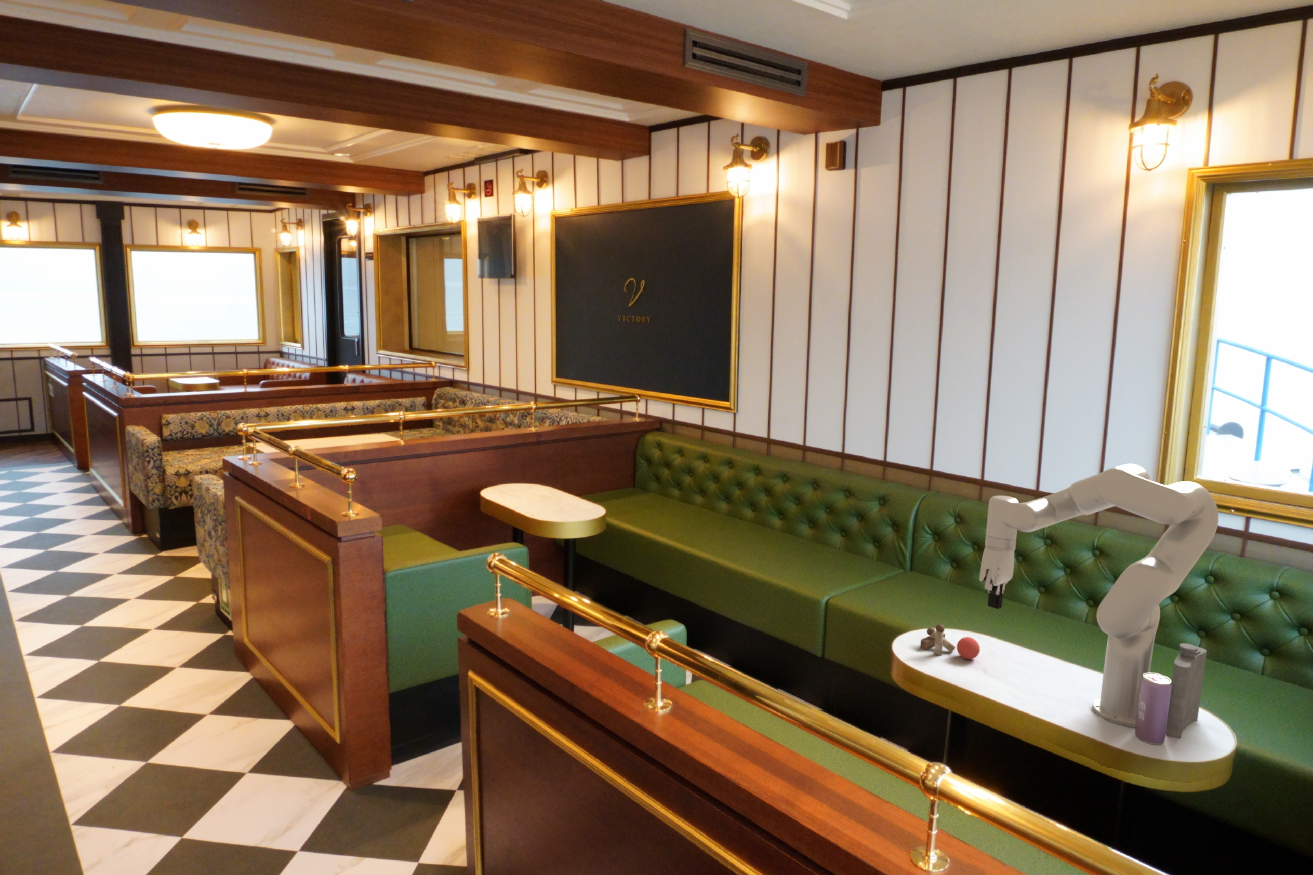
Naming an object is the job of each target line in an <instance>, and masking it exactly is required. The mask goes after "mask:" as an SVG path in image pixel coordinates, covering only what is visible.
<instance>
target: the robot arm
mask: <svg viewBox="0 0 1313 875" xmlns="http://www.w3.org/2000/svg"><path fill="white" fill-rule="evenodd" d="M1113 507H1117V508H1119V509H1121V510H1124V511H1127V512H1129V513H1132V514H1134V515H1137V516H1139V517H1142V518H1145V519H1147V520H1150V521H1153V522H1155V523H1158V524H1161V525H1170V526H1169V527H1168V528H1166V531H1165V532H1164V533H1163V534H1162V535H1161V537H1160V538H1159V539H1158V541H1157V543H1156V544H1155V546H1154V547H1153V548H1152V549H1151V550H1150V552H1149V553H1148V554H1147V555H1146V556H1144V557H1143V558H1141V559H1139V560H1137V561H1135V562H1133V563H1131V564H1130V565H1129V566H1128V567H1126V568H1125V570H1123V572H1122V573H1121V574H1120V575H1119V576H1118V577H1117V580H1115V582H1114V584H1113V585H1112V586H1111V588H1110V589H1109V590H1108V592H1107V593H1106V595H1105V596H1104V598H1103V599H1102V600H1101V602H1100V604H1099V606H1098V607H1097V611H1096V621H1097V624H1098V626H1099V627H1100V629H1101V630H1102V632H1103V633H1104V634H1106V635H1107V642H1106V643H1107V644H1106V649H1105V657H1104V658H1105V659H1104V666H1103V674H1102V683H1101V684H1102V685H1101V692H1100V698H1096V699H1095V700H1094V701H1093V702H1092V710H1093V711H1094V713H1095V714H1097V715H1098V716H1099V717H1101V718H1103V719H1104V720H1106V721H1109V722H1111V723H1114V724H1118V725H1121V726H1127V727H1134V728H1135V726H1136V718H1137V710H1138V702H1139V694H1140V686H1141V679H1142V677H1143V674H1144V673H1151V665H1152V659H1153V652H1154V646H1155V639H1156V634H1157V630H1158V628H1159V625H1160V624H1159V623H1160V619H1161V609H1160V604H1161V602H1162V601H1163V600H1165V599H1166V598H1168V597H1169V596H1171V595H1173V594H1174V593H1175V592H1176V591H1177V590H1178V589H1179V588H1180V587H1181V585H1182V583H1183V582H1184V580H1185V578H1186V577H1187V576H1188V575H1189V574H1190V572H1191V571H1192V570H1193V568H1194V566H1195V565H1196V563H1197V562H1198V560H1199V559H1200V558H1201V557H1202V555H1203V553H1204V552H1205V551H1206V550H1207V548H1208V547H1209V545H1210V544H1211V542H1212V541H1213V539H1214V536H1215V534H1216V531H1217V529H1218V526H1219V525H1218V524H1219V509H1218V506H1217V503H1216V500H1215V498H1214V497H1213V495H1212V494H1211V493H1210V492H1209V491H1208V489H1206V487H1204V486H1203V485H1201V484H1199V483H1197V482H1195V481H1194V482H1193V481H1188V480H1187V481H1176V482H1174V483H1170V484H1168V485H1165V484H1161V483H1158V482H1155V481H1153V480H1151V477H1150V474H1149V473H1148V472H1147V470H1146V469H1145V468H1144V467H1142V466H1140V465H1138V464H1134V463H1125V464H1121V465H1117V466H1114V467H1111V468H1107V469H1106V470H1104V471H1103V472H1098V473H1097V474H1094V475H1091V476H1089V477H1086V478H1083V479H1080V480H1078V481H1075V482H1073V483H1072V484H1070V486H1068V487H1067V488H1065V489H1062V490H1060V491H1057V492H1054V493H1052V494H1049V495H1046V496H1043V497H1040V498H1036V499H1033V500H1029V501H1027V502H1019V500H1018V499H1017V498H1016V497H1012V496H1008V495H993V496H992V497H990V498H989V500H988V509H987V521H986V531H985V532H986V533H985V543H984V544H985V545H984V546H985V547H984V550H983V553H982V558H981V563H980V564H981V565H980V569H979V570H980V571H979V579H978V580H979V582H980V583H984V590H987V593H988V598H987V599H988V601H987V606H988V607H989V608H993V609H997V610H1000V609H1001V608H1002V607H1003V597H1004V593H1005V588H1006V585H1007V584H1008V583H1009V582H1010V581H1011V580H1013V576H1014V571H1015V570H1014V568H1015V550H1016V544H1017V536H1018V535H1017V534H1018V531H1019V532H1023V533H1032V532H1036V531H1038V530H1041V529H1044V528H1047V527H1049V526H1053V525H1055V524H1058V523H1061V522H1064V521H1067V520H1070V519H1073V518H1076V517H1080V516H1089V515H1093V514H1095V513H1097V512H1102V511H1104V510H1106V509H1110V508H1113Z"/></svg>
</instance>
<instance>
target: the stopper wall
mask: <svg viewBox="0 0 1313 875" xmlns="http://www.w3.org/2000/svg"><path fill="white" fill-rule="evenodd" d="M943 637H944V638H945V639H946V633H944V632H943ZM919 647H920V649H922V650H925V651H928V650H930V649H933V648H935V639H934V638H933V637H932V636H930V635H928V636H927V637H923V638H922V639H920V646H919Z"/></svg>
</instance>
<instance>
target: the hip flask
mask: <svg viewBox="0 0 1313 875" xmlns="http://www.w3.org/2000/svg"><path fill="white" fill-rule="evenodd" d="M1207 654H1208V653H1207V649H1205V648H1203V647H1199V646H1196V645H1194V644H1190V643H1184V642H1183V643H1180V644H1179V653H1178V655H1177V656H1176V657H1175V659H1174V662H1173V670H1172V678H1171V685H1172V689H1171V697H1170V704H1169V712H1168V720H1167V727H1166V735H1165V736H1168V737H1169V738H1172V739H1181V738H1182V735H1183V732H1184V731H1185V729H1187V727H1188V726H1189V725H1191V724H1192V723H1194V722H1196V721H1198V720H1199V718H1198V717H1199V711H1200V705H1201V704H1200V703H1201V697H1202V696H1201V695H1202V691H1203V690H1202V689H1203V684H1204V683H1203V681H1204V675H1205V674H1204V673H1205V669H1206V668H1205V667H1206V659H1207Z"/></svg>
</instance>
